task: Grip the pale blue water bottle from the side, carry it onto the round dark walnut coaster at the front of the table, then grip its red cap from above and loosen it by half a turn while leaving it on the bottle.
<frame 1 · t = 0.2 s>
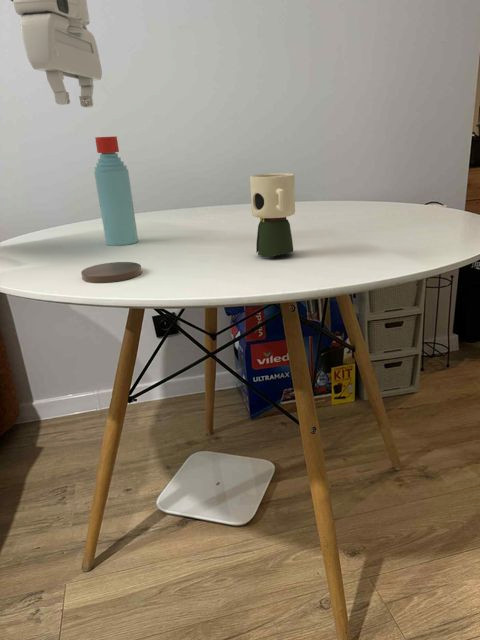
hand: (76, 105, 86), 25 cm above the table, tool pointing down, fingers open, 8 cm apart
cap: (106, 139, 95), point 20 cm above the table, screwed on, not yet turned
coaster: (112, 275, 78), on the table
bottle: (122, 242, 103), on the table
character mug: (275, 256, 85), on the table
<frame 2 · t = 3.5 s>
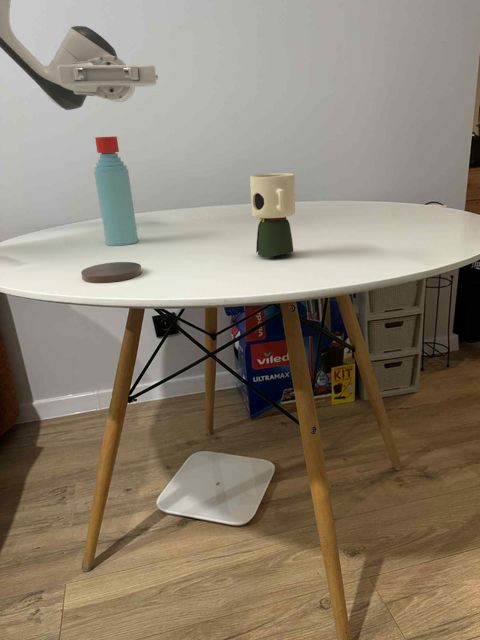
hand: (103, 72, 100), 32 cm above the table, tool horizontal, fingers open, 8 cm apart
nothing on the table moved.
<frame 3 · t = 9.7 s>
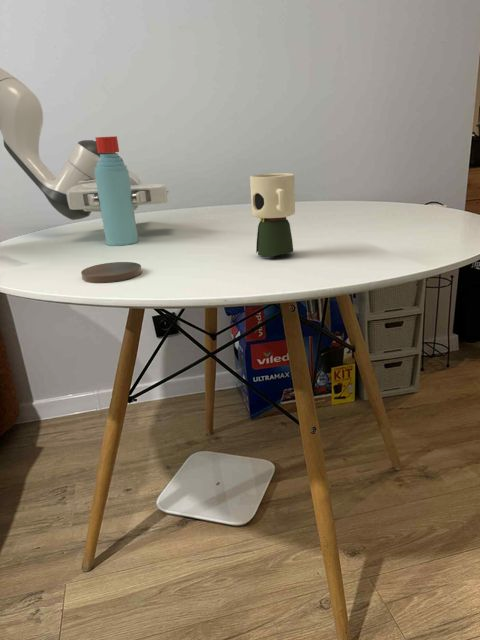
hand: (115, 200, 99), 9 cm above the table, tool horizontal, fingers closed on bottle, 6 cm apart
bottle: (122, 242, 103), on the table, touching gripper
everything else where it was.
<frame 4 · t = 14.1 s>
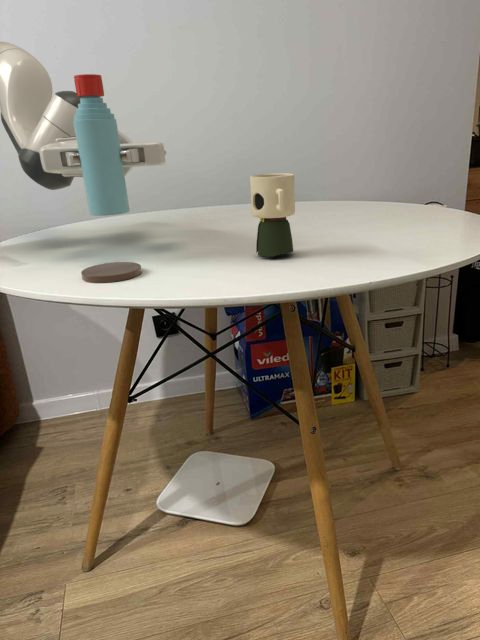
hand: (100, 158, 79), 17 cm above the table, tool horizontal, fingers closed on bottle, 6 cm apart
cap: (88, 78, 75), point 28 cm above the table, screwed on, not yet turned
bottle: (109, 212, 83), point 8 cm above the table, touching gripper
everything else where it was.
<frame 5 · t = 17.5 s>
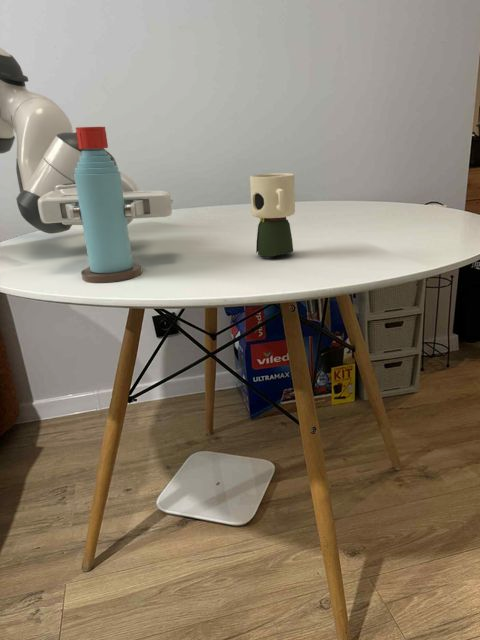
hand: (102, 212, 73), 10 cm above the table, tool horizontal, fingers closed on bottle, 6 cm apart
cap: (90, 130, 70), point 21 cm above the table, screwed on, not yet turned
bottle: (111, 268, 78), point 1 cm above the table, touching coaster, gripper
everything else where it was.
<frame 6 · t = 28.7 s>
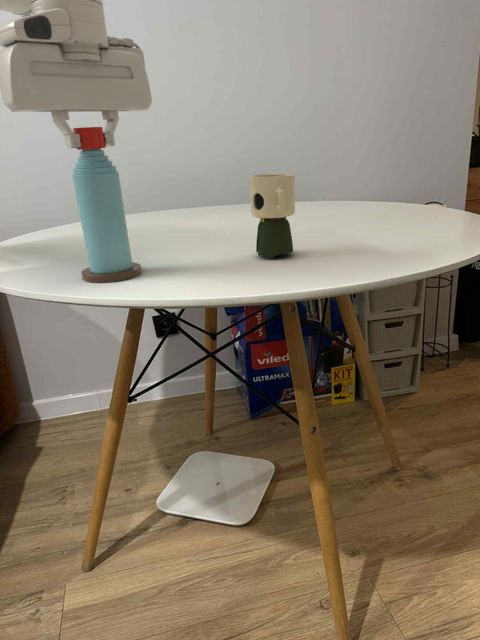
hand: (91, 147, 71), 18 cm above the table, tool pointing down, fingers closed on cap, 4 cm apart
cap: (88, 130, 70), point 21 cm above the table, screwed on, not yet turned, touching gripper
bottle: (111, 268, 78), point 1 cm above the table, touching coaster
everything else where it was.
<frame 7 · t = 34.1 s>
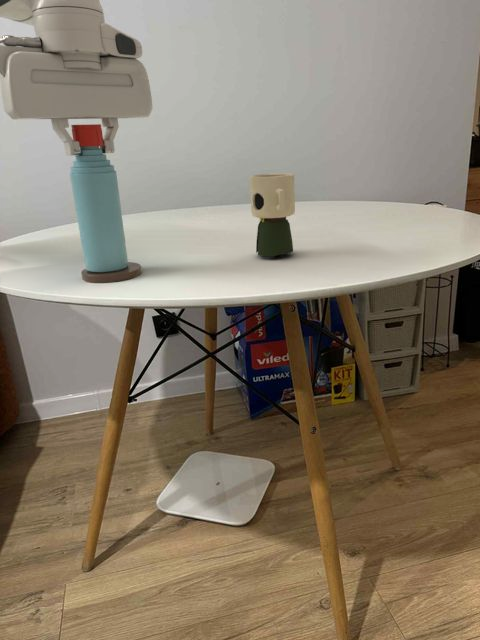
hand: (91, 154, 71), 18 cm above the table, tool pointing down, fingers closed on cap, 4 cm apart
cap: (86, 127, 70), point 21 cm above the table, turned 179° so far, risen 0.2 cm, still on its thread, touching gripper
bottle: (107, 266, 78), point 1 cm above the table
everything else where it was.
when the fingers open (18 cm above the table, at t = 35.8 s): cap stays where it is, point 21 cm above the table.
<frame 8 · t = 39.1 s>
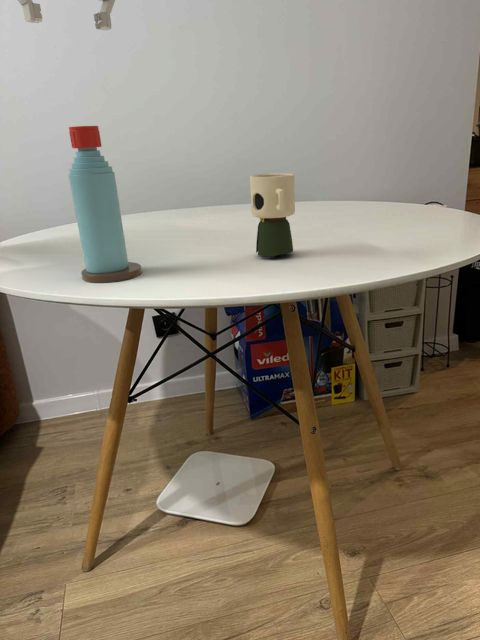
hand: (70, 25, 65), 33 cm above the table, tool pointing down, fingers open, 8 cm apart
cap: (84, 129, 70), point 21 cm above the table, turned 179° so far, risen 0.2 cm, still on its thread
bottle: (107, 268, 78), point 1 cm above the table, touching coaster
everything else where it was.
at the end: bottle inside the target area on the coaster (0.8 cm from its centre), point 1.0 cm above the coaster's base; cap turned 0.50 turns (still on its thread); cap is still on its thread (0.50 turns) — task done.
